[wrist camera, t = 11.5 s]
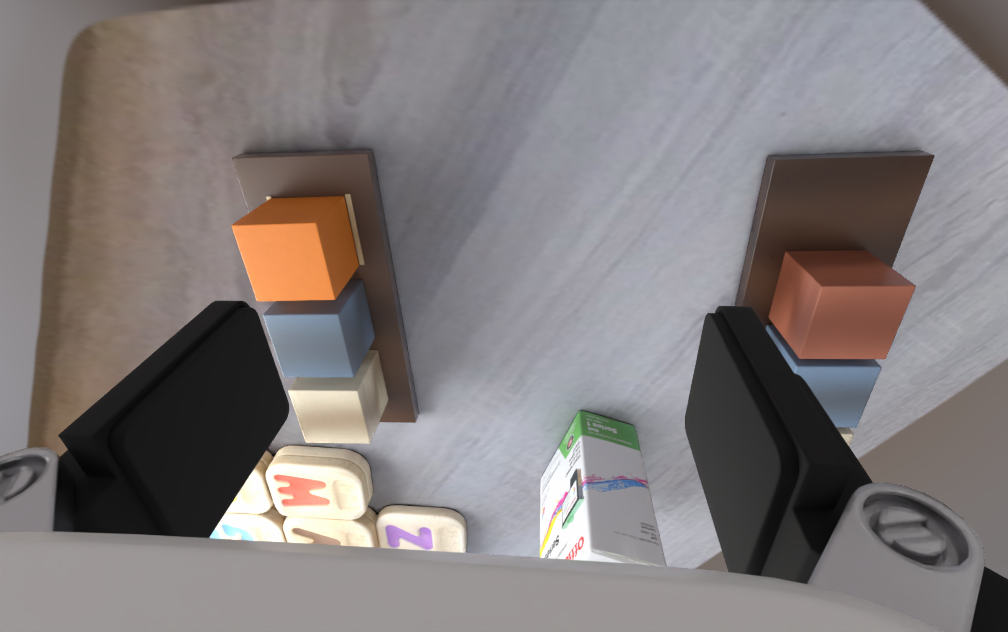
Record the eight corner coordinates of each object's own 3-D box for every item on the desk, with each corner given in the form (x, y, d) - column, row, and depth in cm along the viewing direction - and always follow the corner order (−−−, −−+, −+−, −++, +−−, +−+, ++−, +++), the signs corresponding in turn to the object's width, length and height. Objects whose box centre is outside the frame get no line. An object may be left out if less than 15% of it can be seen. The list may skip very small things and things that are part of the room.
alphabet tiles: (472, 661, 58) (469, 685, 56) (200, 637, 60) (188, 659, 58) (465, 455, 41) (461, 479, 39) (85, 430, 43) (61, 451, 41)
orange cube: (270, 198, 30) (230, 225, 26) (344, 195, 29) (316, 222, 25) (290, 267, 32) (256, 301, 28) (359, 265, 32) (335, 300, 28)
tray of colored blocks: (240, 153, 29) (182, 179, 25) (372, 149, 29) (338, 175, 24) (319, 412, 40) (289, 466, 35) (418, 413, 39) (401, 468, 34)
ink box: (578, 407, 37) (590, 550, 27) (638, 426, 38) (672, 574, 28) (537, 479, 42) (535, 627, 32) (592, 495, 42) (607, 645, 32)
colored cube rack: (767, 155, 27) (813, 184, 23) (923, 150, 27) (1003, 179, 22) (708, 427, 38) (731, 486, 33) (820, 429, 37) (860, 489, 32)
